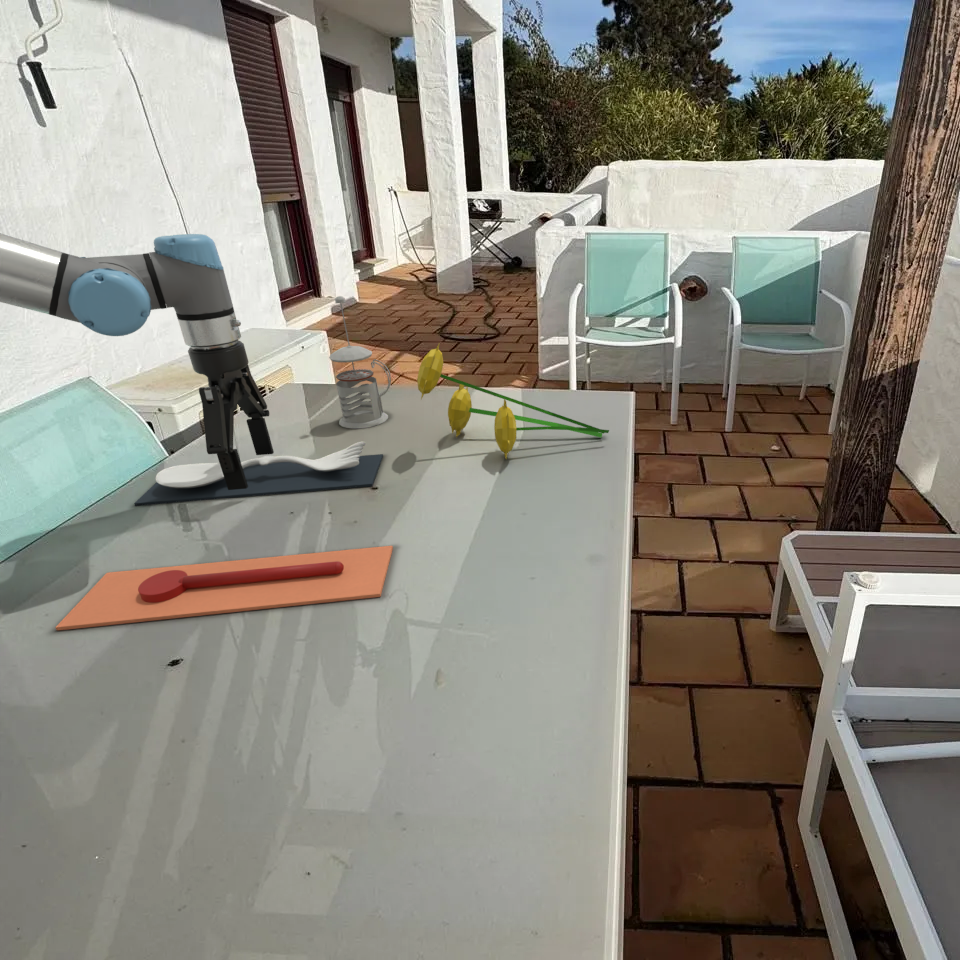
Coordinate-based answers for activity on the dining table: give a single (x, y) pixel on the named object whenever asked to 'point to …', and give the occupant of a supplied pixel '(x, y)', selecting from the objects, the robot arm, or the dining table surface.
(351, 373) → the french press
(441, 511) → the dining table surface
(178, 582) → the red spoon
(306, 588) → the terracotta mat
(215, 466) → the white spork
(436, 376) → the flowers
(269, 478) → the slate mat
